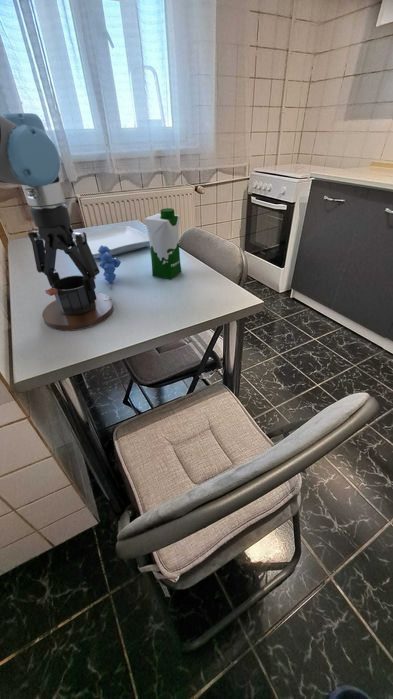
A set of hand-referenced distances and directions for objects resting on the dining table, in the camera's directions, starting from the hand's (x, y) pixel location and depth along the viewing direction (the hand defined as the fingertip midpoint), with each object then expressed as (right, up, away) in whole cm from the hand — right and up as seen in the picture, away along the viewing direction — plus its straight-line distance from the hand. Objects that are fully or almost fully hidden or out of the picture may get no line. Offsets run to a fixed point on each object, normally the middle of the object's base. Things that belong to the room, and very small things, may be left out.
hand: (76, 299), depth 77 cm
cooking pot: (0, -2, +1) cm, 2 cm away
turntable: (0, -3, +2) cm, 4 cm away
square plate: (-4, +30, +46) cm, 55 cm away
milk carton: (+22, +12, +21) cm, 33 cm away
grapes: (+5, +8, +17) cm, 20 cm away
